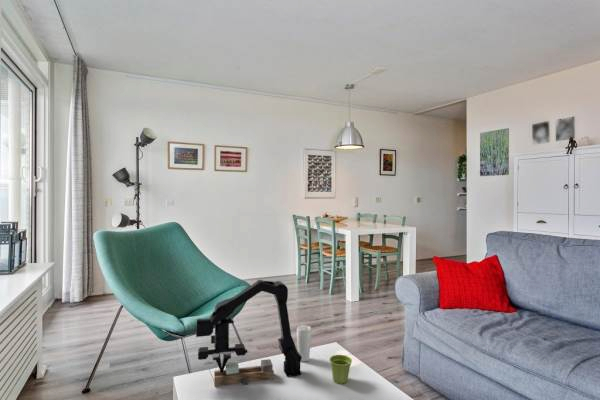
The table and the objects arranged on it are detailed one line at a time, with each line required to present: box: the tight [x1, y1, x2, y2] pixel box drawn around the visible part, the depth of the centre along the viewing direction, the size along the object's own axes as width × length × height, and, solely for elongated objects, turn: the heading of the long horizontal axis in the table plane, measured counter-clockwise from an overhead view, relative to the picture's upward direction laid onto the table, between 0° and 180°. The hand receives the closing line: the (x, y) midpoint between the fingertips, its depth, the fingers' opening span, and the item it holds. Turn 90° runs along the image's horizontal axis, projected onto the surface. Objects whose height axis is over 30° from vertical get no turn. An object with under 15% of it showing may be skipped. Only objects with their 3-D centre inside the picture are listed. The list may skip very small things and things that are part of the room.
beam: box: [213, 358, 275, 387], centre depth 148 cm, size 24×9×6 cm, turn 104°
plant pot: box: [329, 354, 353, 385], centre depth 148 cm, size 9×9×9 cm
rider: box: [225, 360, 240, 375], centre depth 147 cm, size 5×6×4 cm
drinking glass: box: [296, 324, 312, 363], centre depth 167 cm, size 7×7×15 cm
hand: (221, 372), depth 146 cm, fingers closed
